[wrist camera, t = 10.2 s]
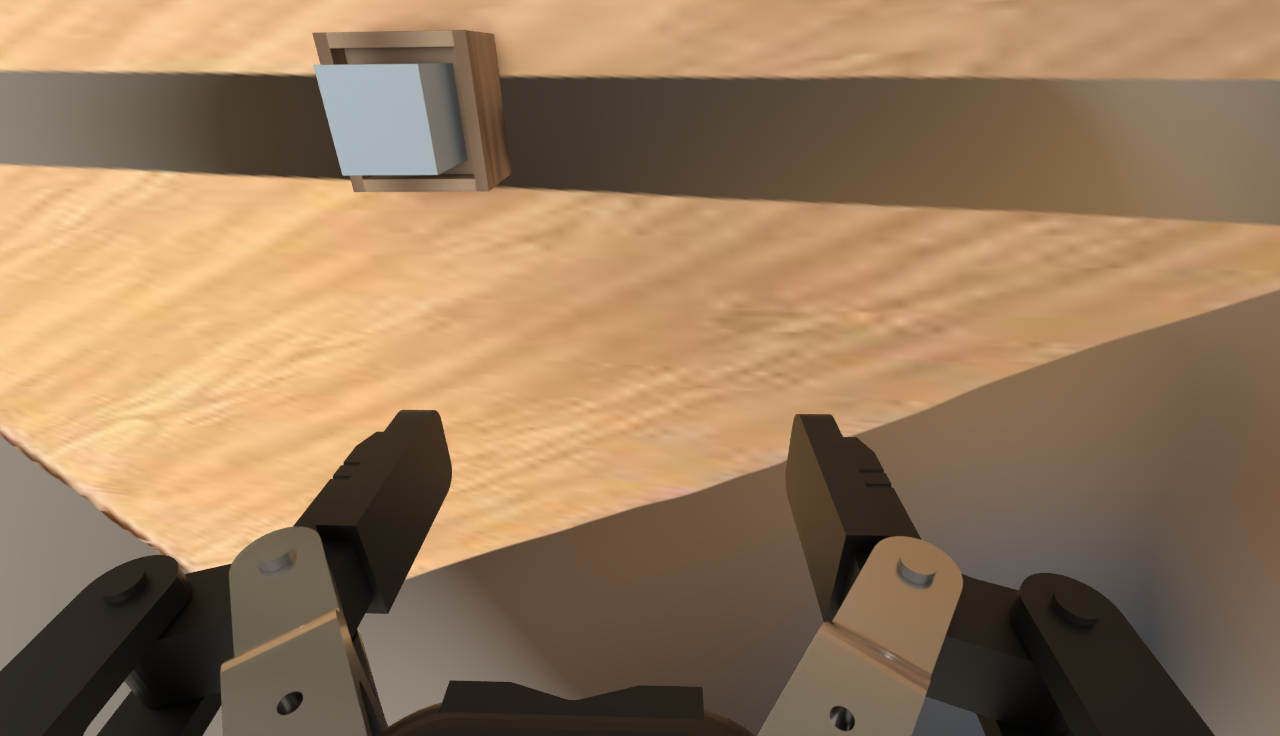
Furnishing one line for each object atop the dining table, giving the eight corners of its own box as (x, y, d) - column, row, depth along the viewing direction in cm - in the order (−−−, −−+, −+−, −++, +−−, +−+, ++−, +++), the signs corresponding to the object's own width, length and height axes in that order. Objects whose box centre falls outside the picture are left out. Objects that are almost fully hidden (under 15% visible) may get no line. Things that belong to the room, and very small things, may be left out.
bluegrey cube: (452, 63, 30) (417, 64, 26) (467, 159, 33) (437, 175, 28) (363, 63, 30) (313, 65, 26) (385, 159, 33) (342, 175, 28)
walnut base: (494, 34, 33) (465, 30, 28) (510, 173, 37) (488, 191, 32) (362, 36, 33) (312, 32, 28) (393, 174, 37) (354, 192, 32)
